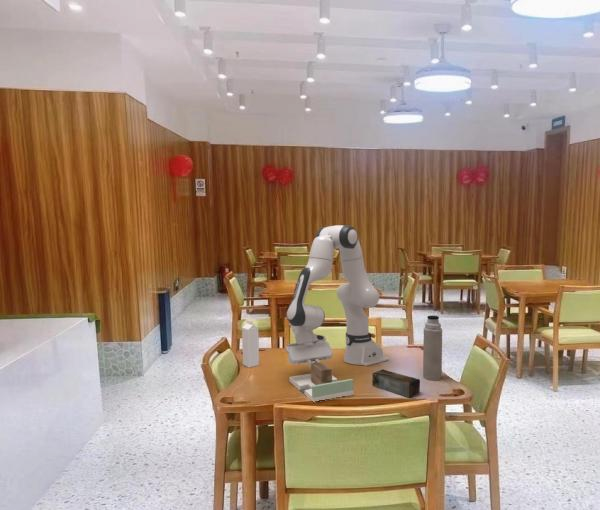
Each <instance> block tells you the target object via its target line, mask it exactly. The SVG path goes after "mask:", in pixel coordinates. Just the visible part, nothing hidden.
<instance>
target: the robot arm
mask: <svg viewBox="0 0 600 510" xmlns="http://www.w3.org/2000/svg"><path fill="white" fill-rule="evenodd" d="M312 241H313V242H312V244H311V247H310V251H309V255H308V261H307V263H306V266H305V267H304V268H302V269H301V271H300V273H299V275H298V278H297V282H296V285H295V288H294V290H293V291H294V292H293V294H292V298H291V301H290V303H289V304H288V305H289V306H288V307H287V310H286V319H287V322H288V323H289V325H290V328H291V331H292V332H293V334H294V340H295V343H288V344H287V345H286V346H285V351H286V353H287V357H288V363H289V364H290V365H299V364H305V363H306V365H307V366H308V367H309V368H311V363H317V362H321V361H325V360H331V358H332V357H333V355H334V354H333V350H332V347H331V346H330V343H329V342H328V341H326V340H327V338H326V335H321V334H316V333H314V332H313V331H314V330H316V329H319V327H321V326H322V325H323V324H324V322H325V317H326V316H325V315H326V314H325V311H324V309H323V308H322V307H321V306H318V305H312V304H311V305H310V304H305V300H306V297H307V295H308V294H307V293H308V291H309V287H310V286H311V284H313V283H315V281H319V280H323V279H325V278H326V277H327V276H330V273H331V271H332V268H333V261H334V252H335V250H337V249H339V258H340V265H341V270H342V271H341V272H342V275H343V276H344V278H345V279H346V280H347V282H344V283H341V284H340V285H339V286H338V288H337V290H336V294H337V295H336V296H337V298H338V300H339V301H340V302H341V305H342V307H343V310H344V314H345V318H346V319H345V321H346V322H345V323H346V332H345V351H344V357H343V362H345V363H346V364H350V365H357V366H358V365H361V366H366V367H368V366H372V365H375V364H379V363H383V362H386V361H388V356H387V355H385V354H384V350H383V348H382V346H381V345H380V344H378V343H377V342H376V341H374V340H373V339H375V338H376V334H375V333H371V332H369V331H370V330H369V328H370V327H369V324H370V322H369V320H370V319H369V316H368V315H367V314H366V312H365V310H364V309H371V308H374V307H376V306H377V304H379V300H380V294H379V292H378V289H376V288H375V287H374V286H373V284H372V283H371V281H370V278H369V276H368V275H367V272H366V267H365V262H364V261H365V260H364V255H363V251H362V250H363V249H362V246H361V244H360V240H359V234H358V231H357V229H356V228H355V227H354V226H353V225H352V226H351V225H348V224H347V225H341V224H340V225H339V224H336V225H329V226H323V227H320V228H319V229H318V230H317V231H316V235H315V238H314V239H313V240H312Z"/></svg>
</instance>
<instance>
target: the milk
mask: <svg viewBox="0 0 600 510" xmlns="http://www.w3.org/2000/svg"><path fill="white" fill-rule="evenodd" d="M241 338H242V339H241V341H242V343H241V344H242V345H241V346H242V365H243V366H244V367H247V368H252V367H256V366H260V350H259V349H260V345H259V340H260V339H259V327H258V326H256V325H254V321H250V320H246V323H245V324H244V325H243V326H242V327H241Z"/></svg>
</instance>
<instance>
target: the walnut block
mask: <svg viewBox="0 0 600 510" xmlns="http://www.w3.org/2000/svg"><path fill="white" fill-rule="evenodd" d="M310 374H311V382H312V383H314V384H315V385H319V384H325V383H331V382H332V376H333V368H331V367H330V366H328V365H327V364H326V363H324V362H323V361H319V362H317V363H314V362H311V367H310Z"/></svg>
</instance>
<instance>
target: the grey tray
mask: <svg viewBox="0 0 600 510" xmlns="http://www.w3.org/2000/svg"><path fill="white" fill-rule="evenodd" d="M289 382H290V383H291V384H292V385H293V386H294V387H295V388H296V389H297V390H298V391H299V392H301V393H302V394H303V395H304V396H305V395H306V396H307V397H306V396H305V397H306V398H307V399H309V398H310V399H311V400H312V401H313V402H314V403H316V402H315V401H319V400H325V399H330V400H332V399H331V398H335V399H337V398H336V397H340V398H343V397H342V396H345V397H350V396H353V395H354V379H353V378H349V379H344V380H338V378H337V377H335V376H334V375H332V382H331V383H325V384H319V385H315V384H314V383H312V382H311V373H307V374H306V373H304V374H298V375H293V376H289ZM310 399H309V400H310ZM311 400H310V401H311ZM312 401H311V402H312ZM325 401H326V400H325ZM313 402H312V403H313Z"/></svg>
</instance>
